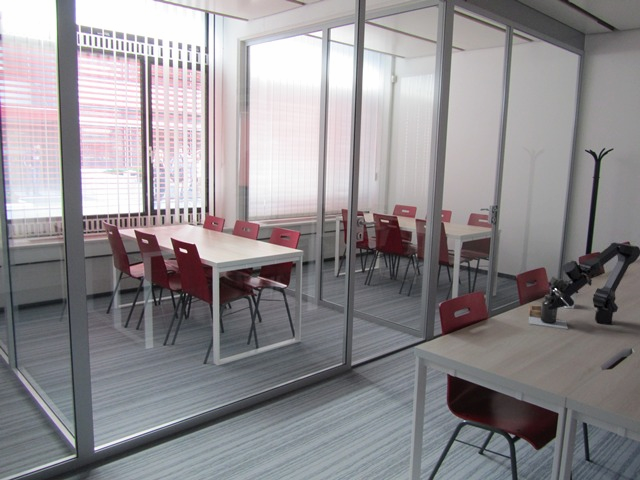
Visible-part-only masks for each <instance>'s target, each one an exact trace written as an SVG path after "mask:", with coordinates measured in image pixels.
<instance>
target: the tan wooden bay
mask: <svg viewBox="0 0 640 480" xmlns="http://www.w3.org/2000/svg"><path fill="white" fill-rule="evenodd" d="M541 307H542V305H535V304H529V306H528V315H529V316H528V317H536V318H541Z"/></svg>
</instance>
